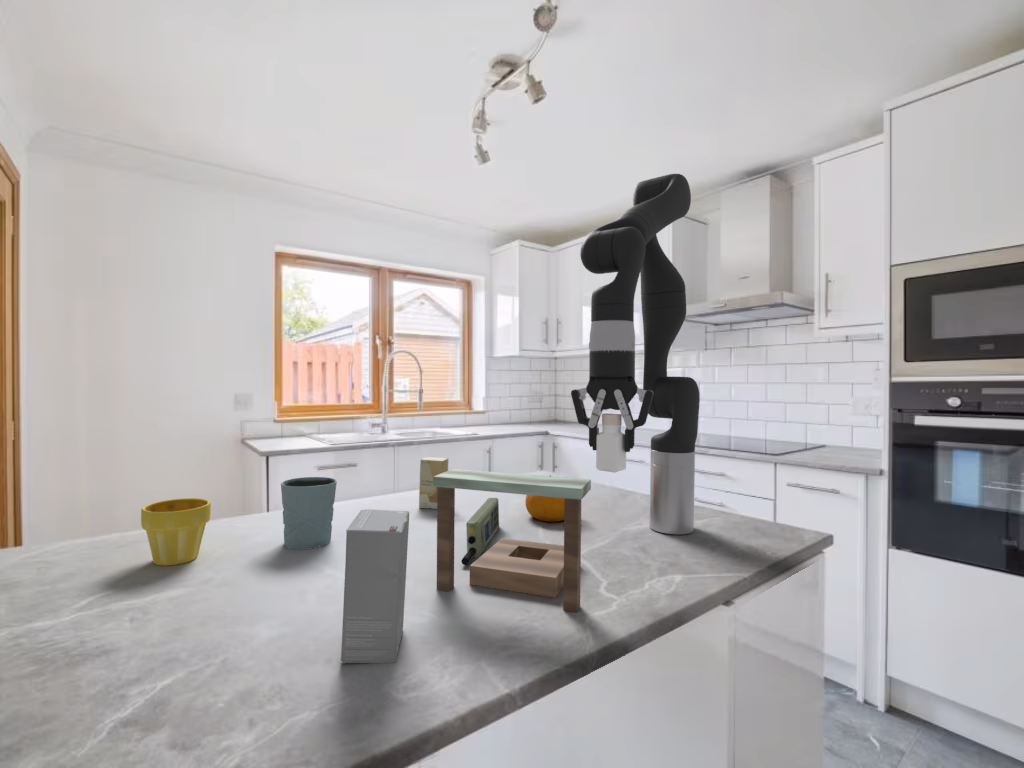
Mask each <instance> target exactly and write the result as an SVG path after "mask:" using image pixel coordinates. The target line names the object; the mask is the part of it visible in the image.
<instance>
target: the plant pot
mask: <svg viewBox="0 0 1024 768" xmlns="http://www.w3.org/2000/svg"><path fill="white" fill-rule="evenodd" d="M211 504H212V503H211V501H210V500H209V499H207V498H200V497H182V498H172V499H164V500H159V501H155V502H151V503H148V504H145V505H144V506H143V507H141V510H140V525H141V528H142V530H144V531H146V535H147V541H148V545H149V548H150V552H151V557H152V558H151V559H152V561H153V562H152V563H153V564H155V565H157V566H177V565H181V564H186V563H189V562H192V561H193V560H195V559H197V557H198V556H199V552H200V548H201V545H202V539H203V536H204V533H205V528H206V525H207V523H208V522H210V520H211V512H212V511H211V510H212V509H211V507H212V505H211Z"/></svg>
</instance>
